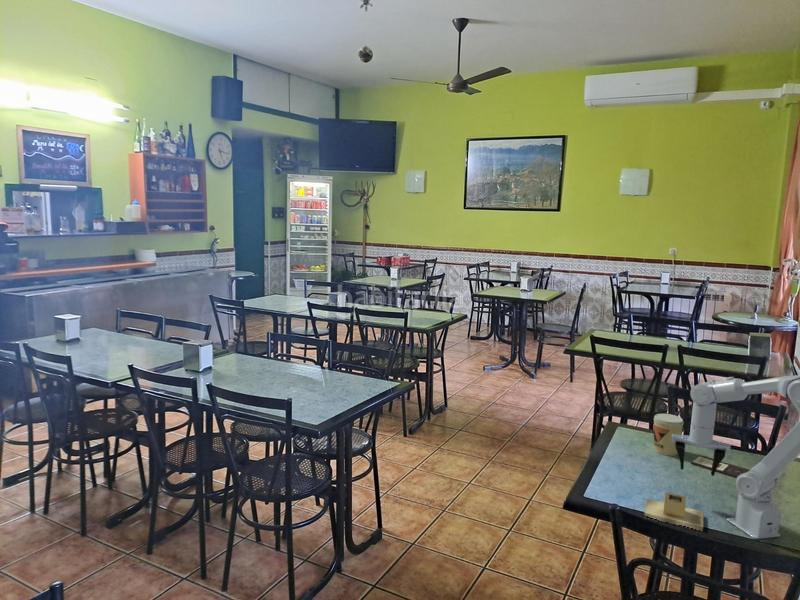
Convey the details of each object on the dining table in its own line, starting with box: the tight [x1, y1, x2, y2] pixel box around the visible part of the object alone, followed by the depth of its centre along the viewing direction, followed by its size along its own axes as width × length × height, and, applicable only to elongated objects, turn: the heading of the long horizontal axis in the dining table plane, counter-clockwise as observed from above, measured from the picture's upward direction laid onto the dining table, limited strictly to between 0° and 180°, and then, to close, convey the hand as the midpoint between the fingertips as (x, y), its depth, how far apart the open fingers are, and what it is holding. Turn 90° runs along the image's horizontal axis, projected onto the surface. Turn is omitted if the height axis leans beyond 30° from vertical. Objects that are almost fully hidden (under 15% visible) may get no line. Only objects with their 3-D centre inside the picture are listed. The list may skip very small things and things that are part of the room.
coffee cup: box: [652, 413, 685, 457], centre depth 200 cm, size 9×9×12 cm
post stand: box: [643, 498, 704, 532], centre depth 156 cm, size 14×9×4 cm, turn 63°
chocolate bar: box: [690, 455, 751, 479], centre depth 187 cm, size 9×1×18 cm
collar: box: [663, 491, 687, 519], centre depth 156 cm, size 5×5×4 cm
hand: (697, 471), depth 163 cm, fingers open, 7 cm apart
